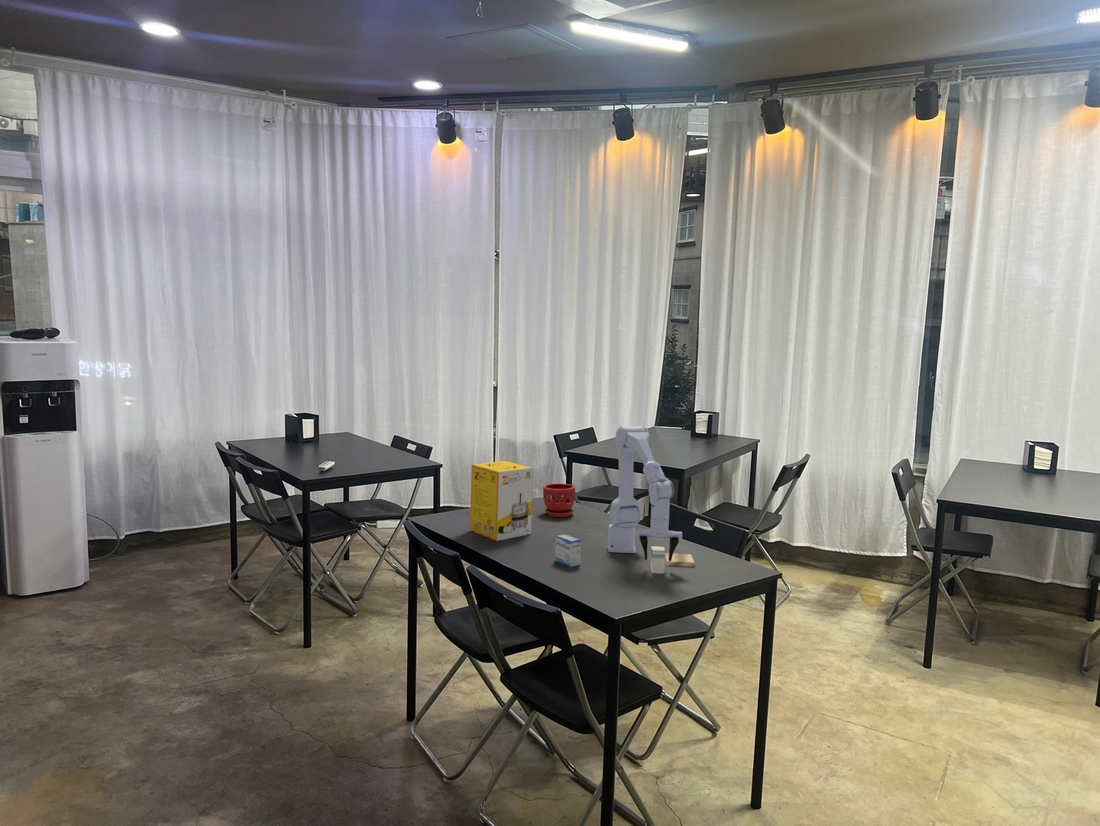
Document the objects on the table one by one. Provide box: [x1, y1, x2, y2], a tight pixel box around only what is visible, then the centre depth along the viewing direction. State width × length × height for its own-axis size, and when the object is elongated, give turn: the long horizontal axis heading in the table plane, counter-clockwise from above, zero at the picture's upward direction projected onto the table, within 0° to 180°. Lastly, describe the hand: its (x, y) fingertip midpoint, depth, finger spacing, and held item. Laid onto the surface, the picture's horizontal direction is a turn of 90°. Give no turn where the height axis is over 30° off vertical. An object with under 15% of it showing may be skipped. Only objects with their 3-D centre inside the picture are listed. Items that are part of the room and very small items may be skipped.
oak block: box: [665, 552, 695, 568], centre depth 265 cm, size 9×9×2 cm
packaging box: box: [469, 460, 534, 542], centre depth 293 cm, size 16×16×25 cm
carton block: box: [649, 545, 666, 575], centre depth 255 cm, size 4×6×7 cm
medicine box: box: [554, 533, 582, 568], centre depth 260 cm, size 8×4×9 cm, turn 40°
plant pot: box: [542, 483, 576, 518], centre depth 323 cm, size 13×13×12 cm
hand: (657, 559), depth 255 cm, fingers open, 7 cm apart
